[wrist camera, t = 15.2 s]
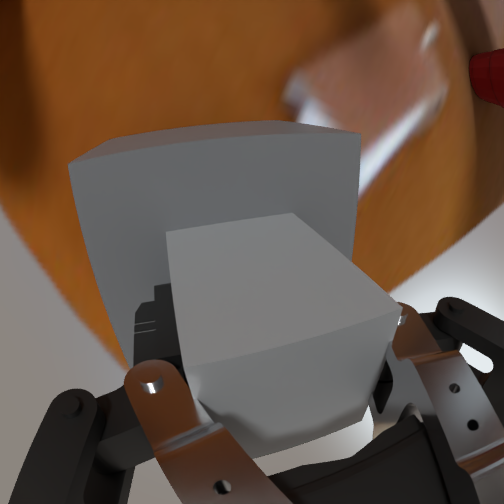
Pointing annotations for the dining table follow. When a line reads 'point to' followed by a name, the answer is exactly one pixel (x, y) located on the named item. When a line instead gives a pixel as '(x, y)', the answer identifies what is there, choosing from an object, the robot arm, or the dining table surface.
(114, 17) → the dining table surface
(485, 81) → the plastic cup
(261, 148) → the grey stepped block
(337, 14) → the dining table surface
